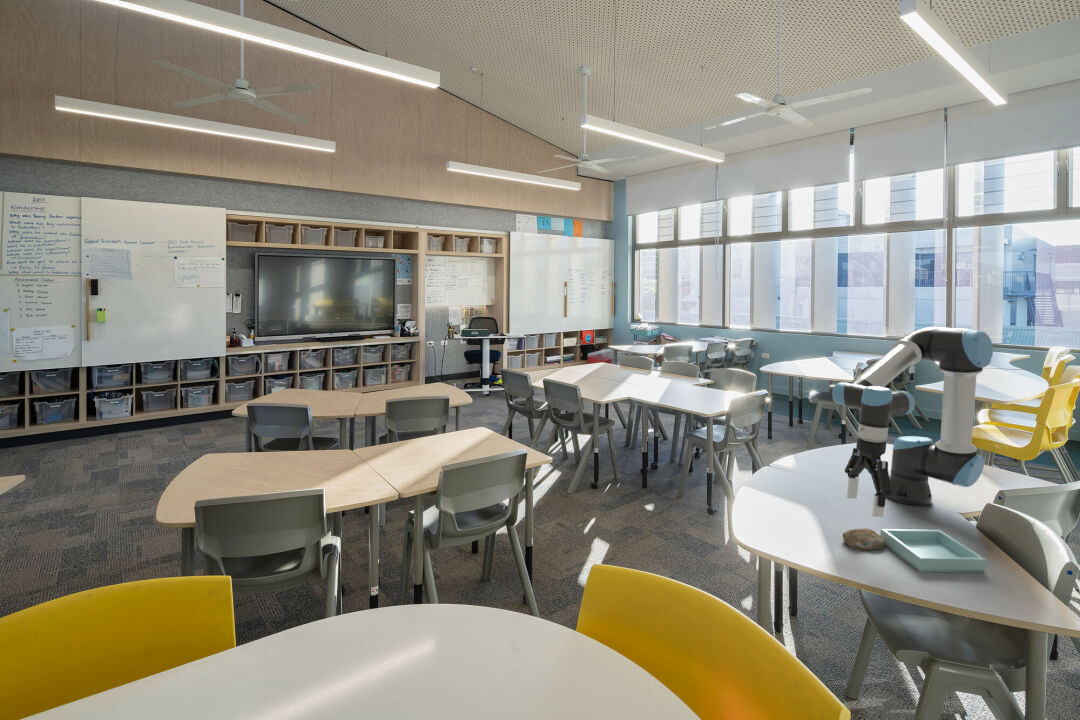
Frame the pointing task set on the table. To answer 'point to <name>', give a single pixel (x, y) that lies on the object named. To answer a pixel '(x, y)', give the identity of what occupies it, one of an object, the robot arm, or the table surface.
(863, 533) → the rock
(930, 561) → the tray
